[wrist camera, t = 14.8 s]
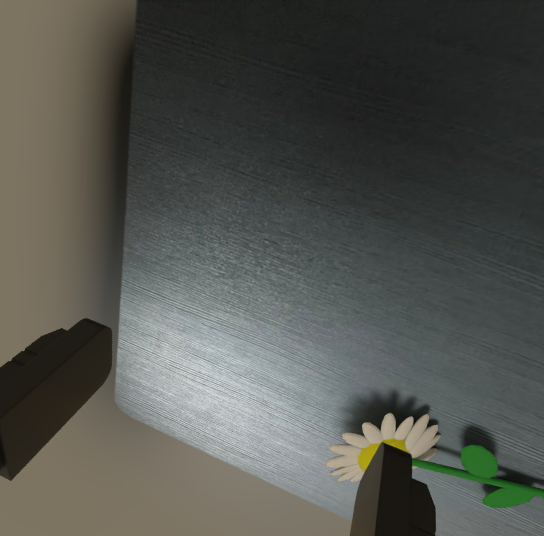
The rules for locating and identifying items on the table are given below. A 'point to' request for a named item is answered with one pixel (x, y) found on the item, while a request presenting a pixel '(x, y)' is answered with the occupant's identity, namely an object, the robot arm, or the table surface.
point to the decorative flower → (425, 458)
